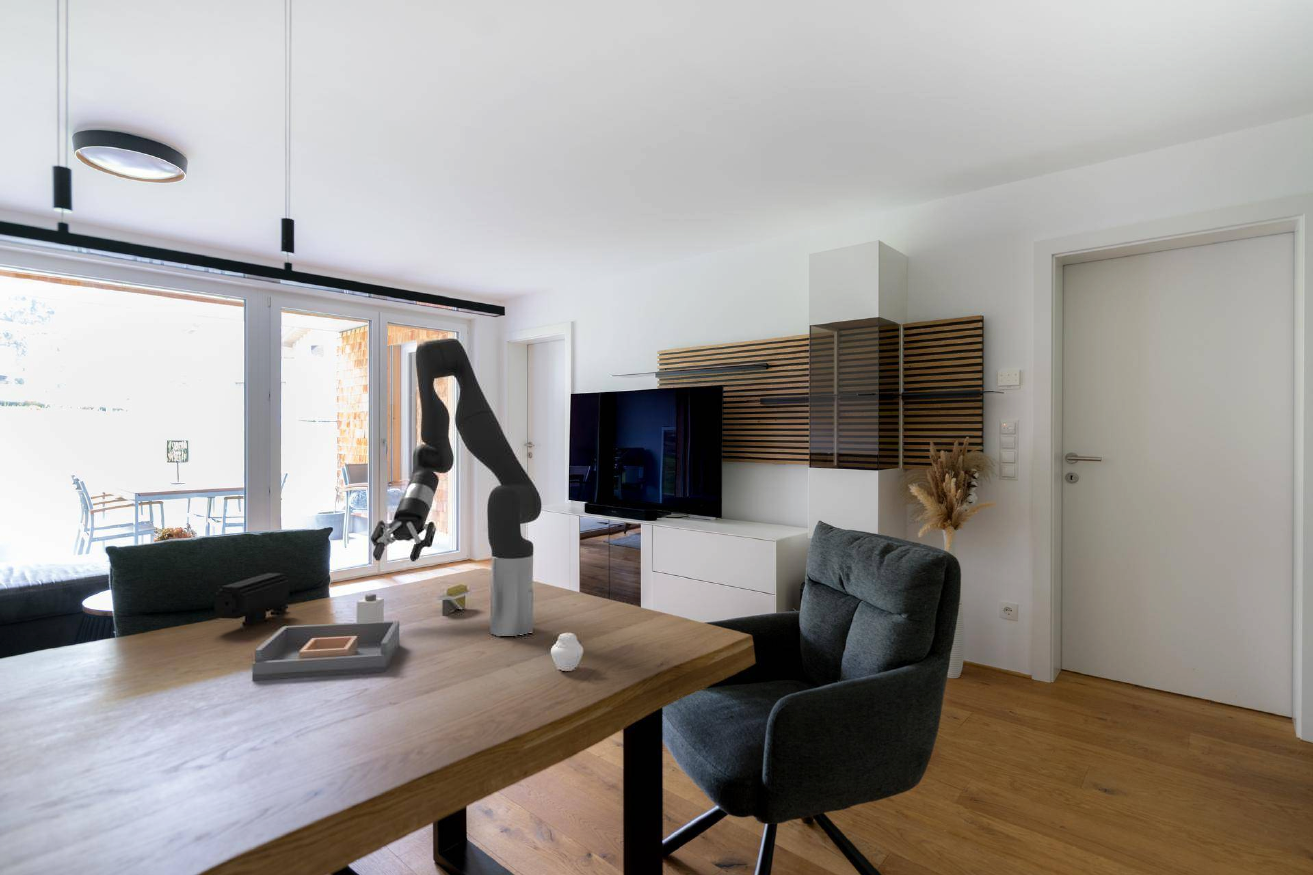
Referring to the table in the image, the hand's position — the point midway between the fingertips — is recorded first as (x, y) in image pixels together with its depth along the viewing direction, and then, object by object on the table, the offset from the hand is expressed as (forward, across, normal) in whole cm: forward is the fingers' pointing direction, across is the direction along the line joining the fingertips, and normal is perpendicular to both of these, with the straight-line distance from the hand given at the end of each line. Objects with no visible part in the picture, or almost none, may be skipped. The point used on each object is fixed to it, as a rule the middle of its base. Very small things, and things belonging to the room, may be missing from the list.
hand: (394, 559), depth 151 cm
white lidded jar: (+30, +46, -10) cm, 56 cm away
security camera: (+12, -31, +9) cm, 35 cm away
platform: (+4, +12, +18) cm, 21 cm away
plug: (+19, 0, +2) cm, 19 cm away
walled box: (+30, 0, -9) cm, 31 cm away
